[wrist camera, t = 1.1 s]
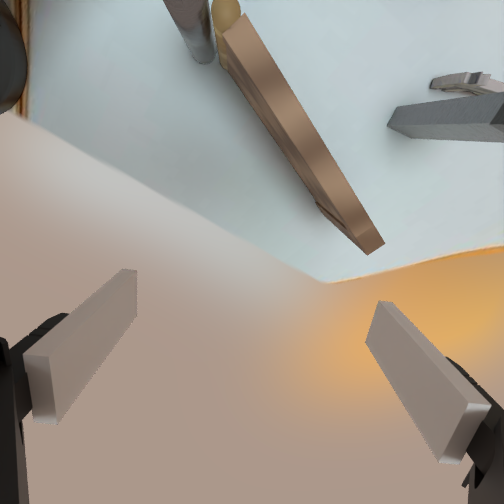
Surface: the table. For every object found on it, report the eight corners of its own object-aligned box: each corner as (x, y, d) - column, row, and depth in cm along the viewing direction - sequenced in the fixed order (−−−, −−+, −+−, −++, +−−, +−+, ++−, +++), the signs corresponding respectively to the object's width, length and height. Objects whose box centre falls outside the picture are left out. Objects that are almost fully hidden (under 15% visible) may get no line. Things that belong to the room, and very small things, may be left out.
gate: (215, 57, 31) (204, 7, 19) (229, 44, 31) (227, -16, 18) (323, 215, 40) (367, 255, 27) (335, 206, 39) (385, 243, 27)
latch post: (384, 126, 36) (502, 124, 20) (396, 104, 35) (530, 83, 19) (411, 140, 37) (544, 147, 21) (424, 119, 36) (573, 110, 20)
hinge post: (186, 56, 32) (147, -7, 17) (194, 26, 30) (160, -69, 16) (211, 68, 32) (195, 17, 18) (220, 40, 31) (210, -40, 16)
